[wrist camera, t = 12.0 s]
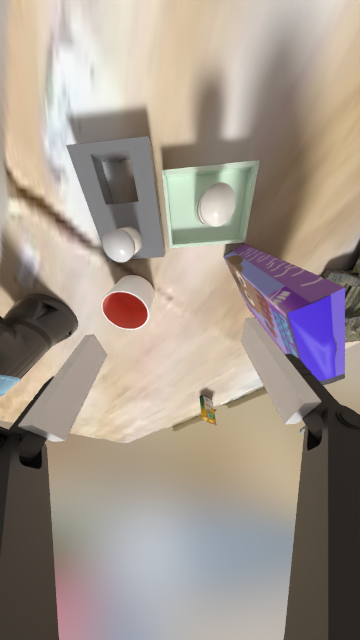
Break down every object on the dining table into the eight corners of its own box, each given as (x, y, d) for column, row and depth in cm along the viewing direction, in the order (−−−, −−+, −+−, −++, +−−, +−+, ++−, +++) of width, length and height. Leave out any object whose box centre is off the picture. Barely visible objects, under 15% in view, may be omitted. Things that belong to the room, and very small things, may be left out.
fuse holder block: (114, 257, 33) (90, 272, 24) (79, 153, 23) (18, 115, 14) (165, 253, 32) (160, 267, 23) (151, 145, 23) (134, 101, 14)
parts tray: (170, 245, 31) (169, 248, 29) (163, 174, 25) (161, 170, 22) (239, 240, 31) (244, 242, 28) (251, 165, 24) (259, 160, 22)
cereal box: (223, 256, 33) (286, 315, 14) (243, 243, 31) (347, 288, 12) (248, 308, 41) (309, 389, 22) (265, 300, 40) (345, 379, 20)
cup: (121, 266, 34) (103, 282, 26) (160, 282, 36) (155, 301, 28) (115, 300, 39) (98, 321, 31) (149, 312, 42) (142, 334, 34)
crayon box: (199, 397, 74) (202, 423, 65) (203, 395, 73) (207, 421, 64) (207, 401, 77) (211, 426, 68) (212, 399, 76) (216, 425, 67)
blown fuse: (194, 225, 29) (201, 228, 20) (193, 197, 26) (200, 185, 17) (216, 222, 28) (233, 224, 19) (217, 193, 26) (237, 179, 17)
